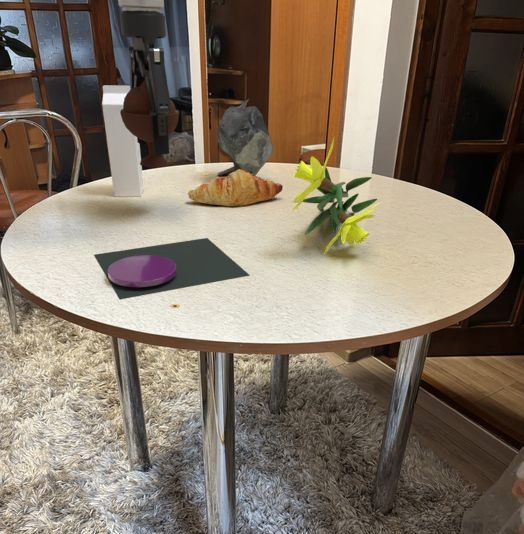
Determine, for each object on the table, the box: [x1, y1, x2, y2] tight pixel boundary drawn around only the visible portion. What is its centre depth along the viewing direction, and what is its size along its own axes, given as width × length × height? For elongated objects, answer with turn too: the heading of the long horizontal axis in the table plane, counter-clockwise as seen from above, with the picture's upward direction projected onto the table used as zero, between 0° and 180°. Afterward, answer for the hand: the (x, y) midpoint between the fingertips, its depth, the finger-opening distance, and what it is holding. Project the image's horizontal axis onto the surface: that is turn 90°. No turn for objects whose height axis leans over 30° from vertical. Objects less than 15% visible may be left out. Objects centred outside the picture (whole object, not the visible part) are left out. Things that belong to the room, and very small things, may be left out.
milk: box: [101, 84, 145, 198], centre depth 111 cm, size 6×6×22 cm
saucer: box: [108, 255, 177, 287], centre depth 76 cm, size 10×10×2 cm
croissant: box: [187, 169, 283, 207], centre depth 112 cm, size 21×10×8 cm, turn 106°
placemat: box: [93, 237, 251, 300], centre depth 81 cm, size 18×20×1 cm
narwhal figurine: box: [216, 98, 275, 177], centre depth 124 cm, size 14×15×18 cm
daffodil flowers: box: [289, 135, 381, 257], centre depth 91 cm, size 17×15×35 cm
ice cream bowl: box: [120, 80, 180, 168], centre depth 96 cm, size 11×11×15 cm
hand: (152, 147), depth 98 cm, fingers closed on ice cream bowl, 11 cm apart
